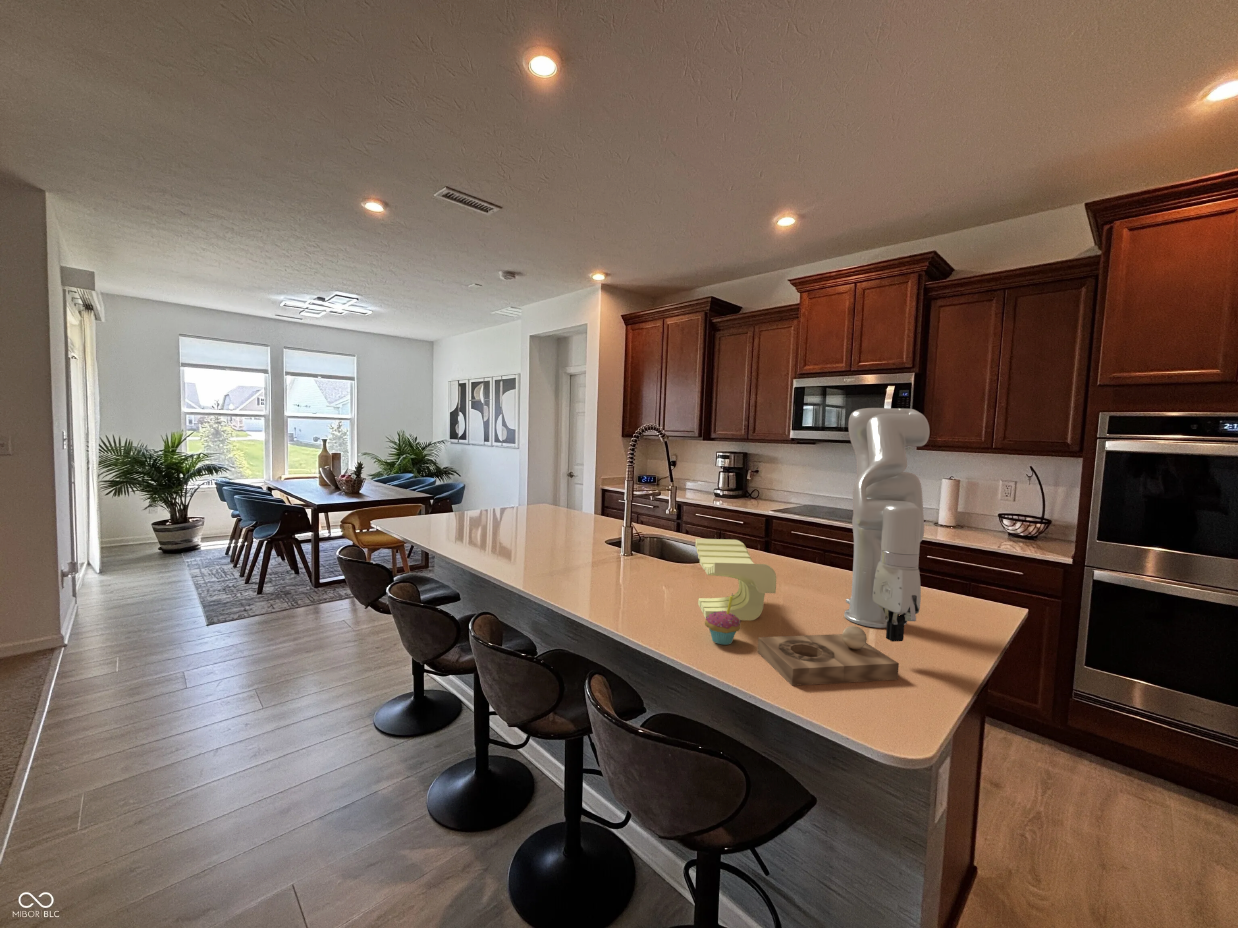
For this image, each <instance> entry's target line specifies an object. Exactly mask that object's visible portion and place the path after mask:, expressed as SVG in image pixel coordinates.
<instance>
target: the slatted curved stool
mask: <svg viewBox="0 0 1238 928" xmlns="http://www.w3.org/2000/svg"><path fill="white" fill-rule="evenodd" d="M695 549H696V553H697V554H698V556H697V558H698V560H699V564H700V566H701V567H702V569H703V571H705V573H706V575H707V576H714V577H715V576H716V577H718V576H719V577H728V578H732V579H736V580H737V581H738V590H737V591H736V592H735V593H733V595H732V594H731V595H732V596H733V598H732V603H731V608H730V613H732V614H733V615H735V616H736V617H737V618H739V619H740V621H754V620H756V619H758V618H759V617H760V616H761V614H762V612H763V610H764V603H765V602H764V601H765V596H766V594H776V592H777V574H776V572H775V570H774V568H773V567H771V566H770V565H769V564H766V563H755V562H753V560H752V556H750V552H749V551H748V548H747V547H746V545H745V544H744V543H743V542H742V541H740V540H738V539H727V538H726V539H724V538H720V539H719V538H718V539H717V538H695ZM731 595H730V596H731ZM730 596H725V597H724V596H723V597H714V598H712V597H710V598H707V597H706V598H704V597H702V598H701V597H699V598H698V602H697V604H698V607H699V608H700V610H701V612H702V614H703V616H704V618H705V619H706V617H707V616H708V615H709V614H711V613H713V612H720V611H726V612H727V609H728V604H729V599H730Z"/></svg>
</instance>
